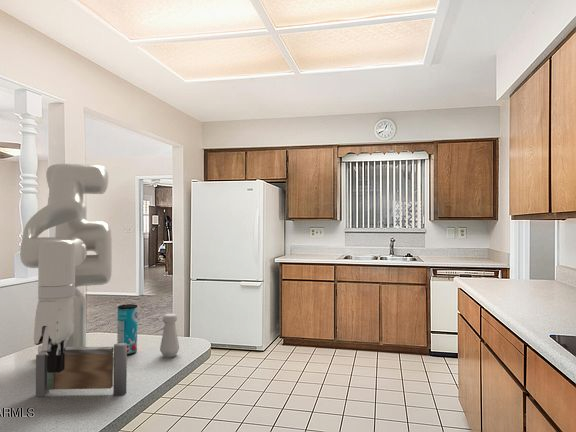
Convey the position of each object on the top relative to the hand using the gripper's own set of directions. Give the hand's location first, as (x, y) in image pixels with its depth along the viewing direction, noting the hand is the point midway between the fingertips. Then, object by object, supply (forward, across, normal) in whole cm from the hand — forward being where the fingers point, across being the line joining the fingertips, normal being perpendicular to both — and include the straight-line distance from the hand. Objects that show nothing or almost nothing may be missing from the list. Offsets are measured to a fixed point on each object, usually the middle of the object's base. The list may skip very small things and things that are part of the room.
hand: (55, 371), depth 97 cm
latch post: (+8, -5, -6) cm, 11 cm away
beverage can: (+7, -36, +5) cm, 37 cm away
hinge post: (+8, -5, +13) cm, 16 cm away
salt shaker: (+8, -33, +19) cm, 39 cm away
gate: (+6, -5, +3) cm, 9 cm away
